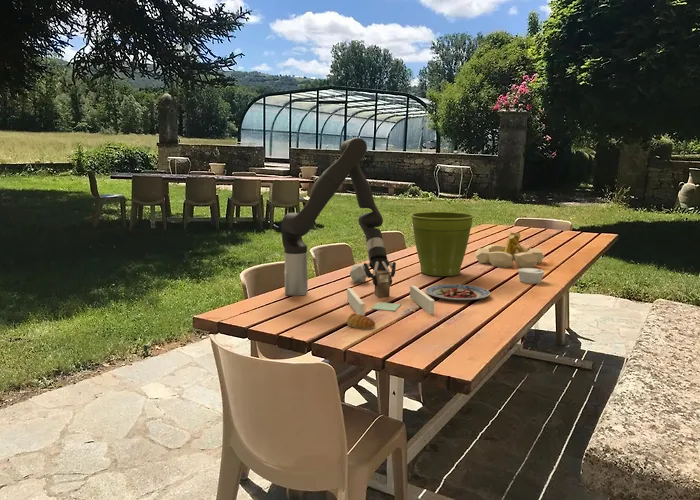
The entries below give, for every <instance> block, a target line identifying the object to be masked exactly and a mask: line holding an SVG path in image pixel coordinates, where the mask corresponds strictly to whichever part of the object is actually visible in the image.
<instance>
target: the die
mask: <svg viewBox="0 0 700 500" xmlns="http://www.w3.org/2000/svg"><path fill="white" fill-rule="evenodd" d="M363 266H364V264H353V265H352V267H351V269H350V272H349V275H350V278H351V280H352V282H353V283H366V280H367V278H368V277H367V275H366V273H365V271H364V269H363Z"/></svg>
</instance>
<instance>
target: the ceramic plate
mask: <svg viewBox="0 0 700 500" xmlns="http://www.w3.org/2000/svg"><path fill="white" fill-rule="evenodd" d="M425 294H427V295H429V296H433V297H436V298H439V299H441V300H446V301H455V302H468V301H469V302H470V301H474V300H479V299H484V298H486V297H490V294H491V292H490V291H489V290H488V289H486V288H484V287H480V286H476V285H470V284H461V283H451V284H450V283H444V284H435V285H430V286H428V287H426V288H425Z"/></svg>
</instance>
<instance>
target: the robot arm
mask: <svg viewBox="0 0 700 500" xmlns="http://www.w3.org/2000/svg"><path fill="white" fill-rule="evenodd" d="M339 150H340V151H339V152H340V157H339V158H338V159H337V160H336V161H335V162H334V163H333V164H332V165H330V166H329V167H328V168H326V169H325V170H324V171H323V172H322V173H321V174H320V175H319V177H318V178H317V180H316V181H315V182H314V184H313V185H312V187H311V190H310V195H309V198H308V201H307V202H306V204H305V205H304V206H303V208H302V209H301V210H300V211H299V212H288V213H286V214H285V215H284V216H283V217H282V220H281V242H282V246H283V249H284V270H283V271H284V293H285V294H284V295H286V296H296V297H297V296H304V295H306V294H308V285H309V284H308V283H309V282H308V280H309V279H308V246H307V244H306V243H305V242H304V240H303V237H304V236H305V235H307V234H308V233H309V232H310V230H311V229H312V226H313V225H314V224H315V222H316V221H317V218H318V216H320V215H321V212H322V211H323V210H324V209H325V207H326V206H327V204H328V203H329V201H330V200H331V199H332V198H333V197H334V195H335V194H336V193H337V191H338V190H339V188H340V187H341V185H342V184H343V182H345V180H346V179H347V177H348V176H349V177H350V179H351V183H352V185H353V189H354V192H355V197H356V201H357V204H358V207H359V209H369V210H371V212H370V211H369V212H366V213H363V214H361V215H359V217H358V225H359V227H360V228H361V230H362V232H363V234H364V237H365V240H366V251H367V255H368V261H369V262H368V263H367V262H364V263H363V265H364V266H363V269H364V271H365V273H366V275H367V278H368V279H372V284H373V286H374V287H375V286H377V285H378V283H377V277H376V272H375V271H377V270H388V271H389V272H390V287H391V285H392V284H393V278H394V277H395V275H396V269H397V268H396V265H397V263H396V261H393V262H390V261H389V260H388V256H387V250H386V246H385V242H384V240H383V236H382V231H381V229H380V228H379V227H381V226H382V225H383V223H384V217H383V215H382V214H381V211H379V209H378V207H377V204H376V202H375V199H374V196H373V191H372V189H371V188H372V187H371V186H370V183H369V181H368V179H367V178H366V176H365V175H364V173H363V171H362V169H361V165H360V162H361V160H363V158H364V157H365V156H366V154H367V150H368V146H367V142H366V141H365V140H364V138H361V137H353V138H351V139H347V140H344V141H343V142H342V143H341V145H340V147H339ZM370 268H371V269H372V270H373V271H372V272H371V270H370ZM389 268H390V269H391V271H390V269H389Z"/></svg>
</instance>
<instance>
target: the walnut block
mask: <svg viewBox="0 0 700 500" xmlns="http://www.w3.org/2000/svg"><path fill="white" fill-rule="evenodd" d="M389 271H390V270H389ZM389 271H388V270H377V271H375V272H376V277H377V283H378V285H377V286H375V285H374V295H375V296H376V297H377V298H383V297H384V298H386V297H387V298H388V297H390V293H391V292H390V289H391V286H390V273H391V271H390V272H389Z"/></svg>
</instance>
